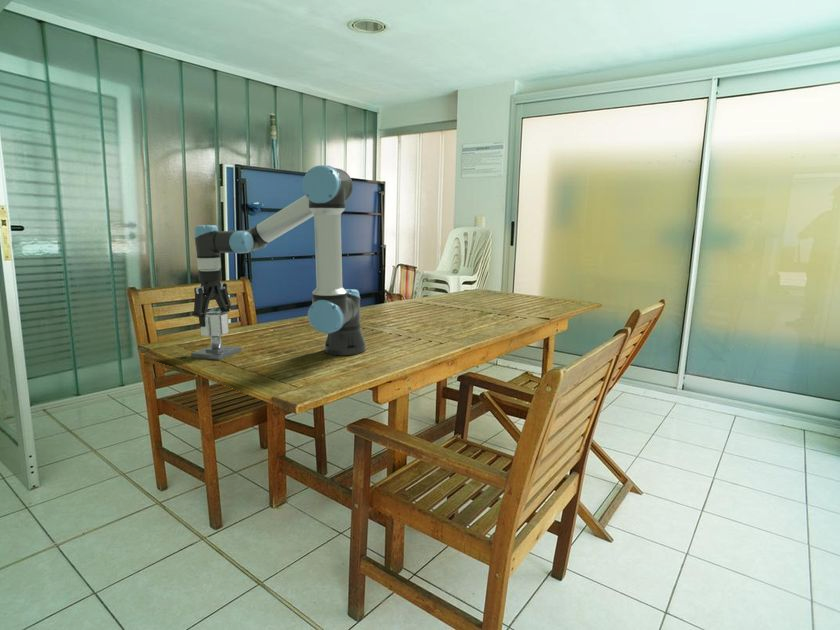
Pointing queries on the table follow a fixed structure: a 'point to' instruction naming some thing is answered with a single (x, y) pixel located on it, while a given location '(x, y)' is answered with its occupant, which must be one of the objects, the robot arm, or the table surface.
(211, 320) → the ring
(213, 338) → the shaft block
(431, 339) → the table surface
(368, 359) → the table surface
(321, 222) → the robot arm
